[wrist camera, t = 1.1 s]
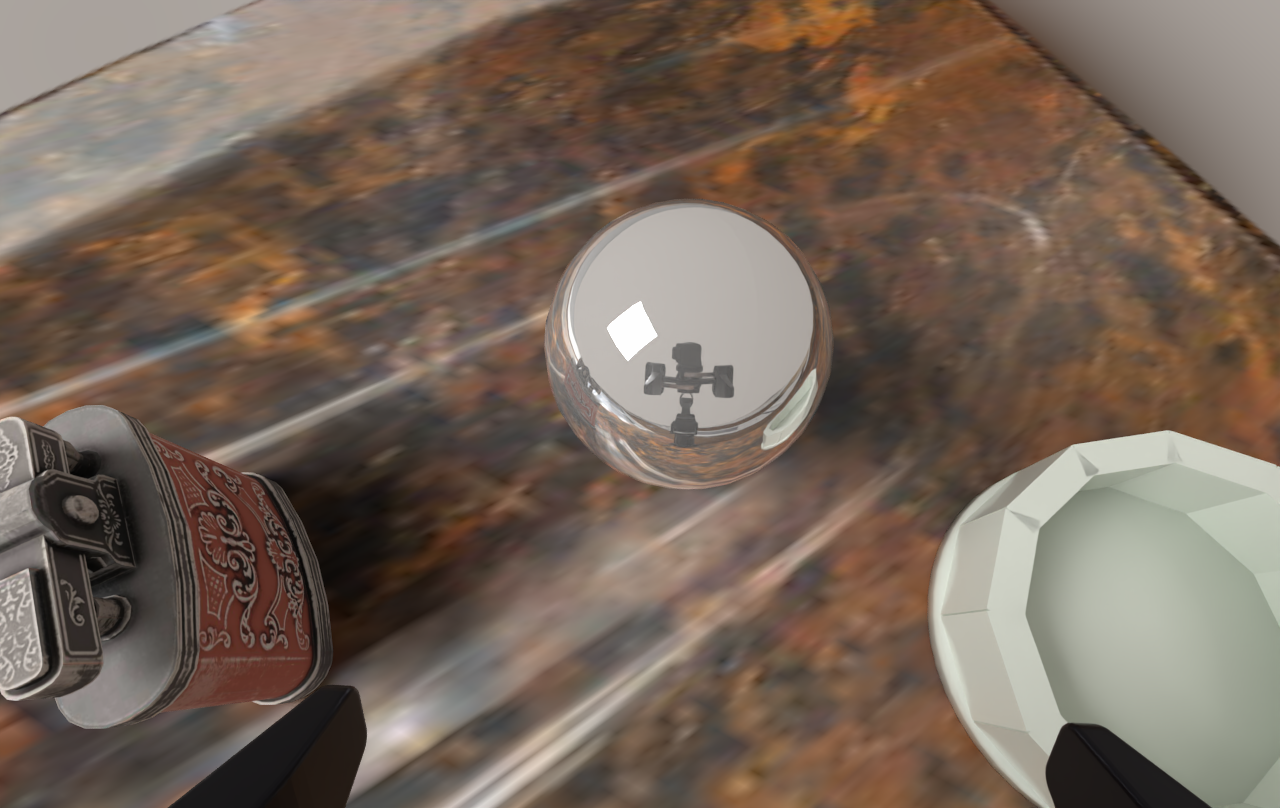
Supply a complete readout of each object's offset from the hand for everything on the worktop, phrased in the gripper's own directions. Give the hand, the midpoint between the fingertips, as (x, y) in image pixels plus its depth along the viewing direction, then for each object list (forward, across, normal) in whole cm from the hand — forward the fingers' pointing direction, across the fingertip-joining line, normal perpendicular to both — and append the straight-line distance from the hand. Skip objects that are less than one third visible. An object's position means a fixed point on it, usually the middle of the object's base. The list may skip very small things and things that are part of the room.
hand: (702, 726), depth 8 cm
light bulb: (+15, 0, +4) cm, 16 cm away
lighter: (+11, +14, +8) cm, 20 cm away
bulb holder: (+11, -14, +8) cm, 20 cm away
